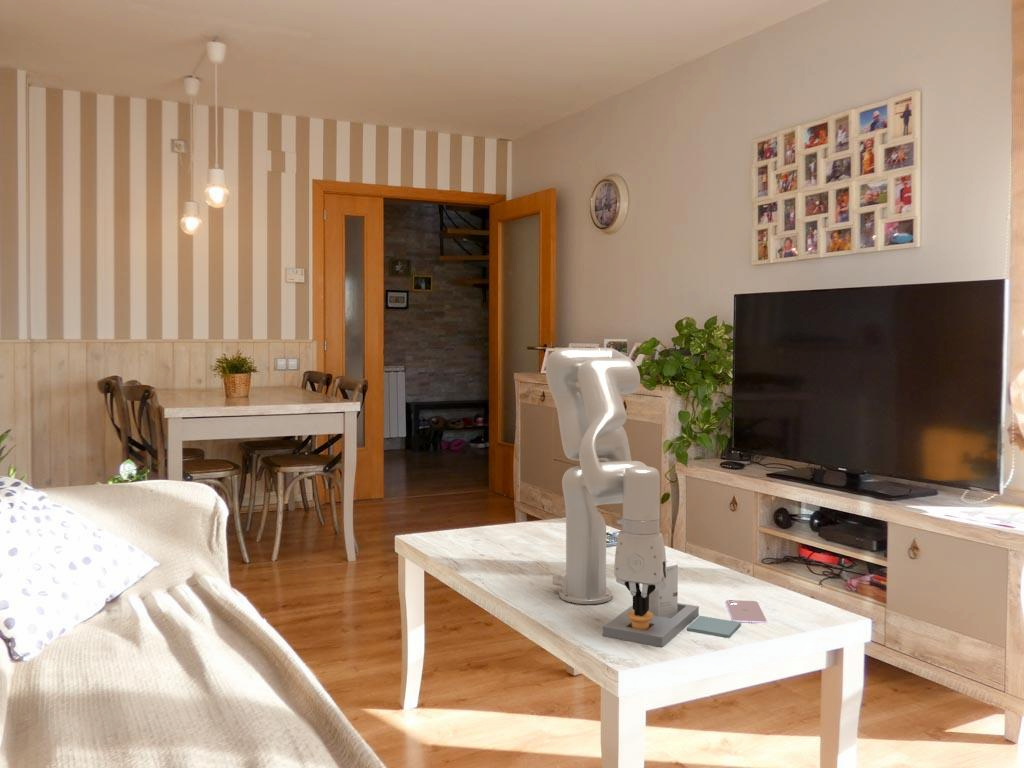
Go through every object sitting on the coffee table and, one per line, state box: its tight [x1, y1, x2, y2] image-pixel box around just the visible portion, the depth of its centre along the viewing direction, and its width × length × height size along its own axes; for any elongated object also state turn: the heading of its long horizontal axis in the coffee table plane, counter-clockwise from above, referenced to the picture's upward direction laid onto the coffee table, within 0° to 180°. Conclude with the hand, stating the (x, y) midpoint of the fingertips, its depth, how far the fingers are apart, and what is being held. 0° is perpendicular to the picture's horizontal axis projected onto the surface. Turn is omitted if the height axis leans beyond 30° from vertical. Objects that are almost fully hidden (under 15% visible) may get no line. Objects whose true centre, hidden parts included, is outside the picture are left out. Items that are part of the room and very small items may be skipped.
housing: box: [602, 602, 700, 648], centre depth 183 cm, size 13×23×2 cm, turn 150°
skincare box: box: [648, 560, 679, 618], centre depth 188 cm, size 6×4×12 cm
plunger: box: [628, 610, 653, 631], centre depth 177 cm, size 5×5×4 cm
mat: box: [686, 615, 742, 639], centre depth 182 cm, size 9×9×1 cm
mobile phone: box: [724, 599, 768, 624], centre depth 192 cm, size 8×1×15 cm
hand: (640, 613), depth 177 cm, fingers closed
